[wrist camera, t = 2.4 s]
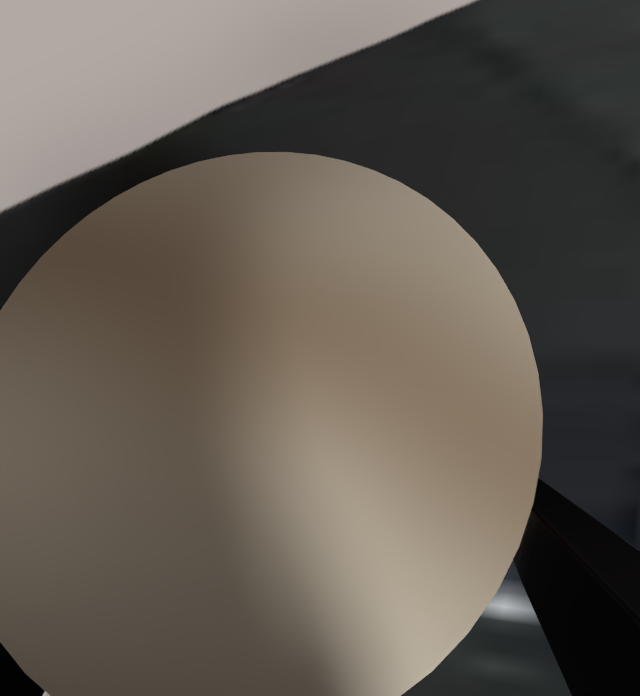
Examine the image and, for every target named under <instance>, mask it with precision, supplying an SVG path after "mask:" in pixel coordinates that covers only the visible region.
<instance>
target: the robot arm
mask: <svg viewBox="0 0 640 696" xmlns="http://www.w3.org/2000/svg"><path fill="white" fill-rule="evenodd" d="M513 560H514V563H515V566H516V569H517V572H518V574H519V576H520V579H521V581H522V584H523V586H524V588H525V590H526V593H527V595H528V597H529V599H530V602H531V604H532V606H533V609H534V611H535V613H536V615H537V618H538V620H539V622H540V624H541V627H542V629H543V631H544V633H545V636H546V638H547V640H548V642H549V645H550V647H551V649H552V651H553V654H554V656H555V658H556V661H557V663H558V665H559V667H560V670H561V672H562V674H563V676H564V679H565V681H566V683H567V685H568V688H569V690H570V692H571V694H572V696H640V551H639V550H637V549H636V548H635V547H633V546H632V545H631V544H629V543H628V542H626V541H625V540H624V539H622V538H621V537H619V536H618V535H617V534H615V533H614V532H613V531H611V530H610V529H608V528H607V527H606V526H604V525H603V524H601V523H600V522H599V521H597V520H596V519H594V518H593V517H592V516H590V515H589V514H588V513H586V512H585V511H583V510H582V509H581V508H579V507H578V506H576V505H575V504H574V503H572V502H571V501H569V500H568V499H567V498H565V497H564V496H563V495H561V494H560V493H558V492H557V491H556V490H554V489H553V488H551V487H550V486H549V485H547V484H546V483H544V482H543V481H542V480H540V479H539V478H538V480H537V486H536V492H535V498H534V503H533V506H532V509H531V512H530V515H529V518H528V521H527V524H526V527H525V530H524V533H523V536H522V540H521V543H520V546H519V548H518V550H517V552H516V554H515V556H514V558H513ZM44 692H45V691H44V690H43V689H42V688H41V687H40V686H39V685H38V684H37V683H35V682H34V681H33V680H32V679H31V678H30V677H29V676H28V675H26V674H25V672H24V671H23V670H22V669H21V667H20V666H19V665H18V664H17V662H16V661H15V660H14V659H13V657H12V656H11V655H10V654H9V652H8V651H7V650H6V649H5V647H4V646H3V645H2V644H1V642H0V696H43V694H44Z"/></svg>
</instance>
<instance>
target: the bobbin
mask: <svg viewBox="0 0 640 696" xmlns="http://www.w3.org/2000/svg"><path fill="white" fill-rule="evenodd" d="M542 423H543V411H542V402H541V393H540V384H539V375H538V370H537V366H536V362H535V358H534V354H533V350H532V346H531V342H530V338H529V335H528V332H527V330H526V327H525V325H524V322H523V320H522V317H521V315H520V312H519V310H518V308H517V305H516V303H515V300H514V298H513V297H512V295H511V293H510V291H509V290H508V288H507V286H506V284H505V283H504V281H503V279H502V277H501V276H500V274H499V272H498V270H497V269H496V268H495V266H494V265H493V264H492V262H491V261H490V260H489V258H488V257H487V256H486V254H485V253H484V252H483V250H482V249H481V248H480V247H479V245H478V244H477V243H476V241H475V240H474V239H473V238H472V237H471V236H470V235H469V234H468V233H467V232H466V231H465V230H464V229H463V228H462V227H461V226H460V225H459V224H458V223H457V222H456V221H455V220H454V219H453V218H451V217H450V216H449V215H448V214H446V213H445V212H444V211H443V210H441V209H440V208H439V207H437V206H436V205H435V204H434V203H432V202H431V201H430V200H429V199H427V198H425V197H424V196H422V195H421V194H419V193H417V192H416V191H414V190H412V189H411V188H409V187H407V186H406V185H404V184H402V183H401V182H398V181H396V180H394V179H392V178H390V177H387V176H385V175H383V174H381V173H379V172H376V171H374V170H371V169H368V168H365V167H362V166H359V165H356V164H353V163H350V162H347V161H343V160H338V159H333V158H328V157H323V156H319V155H311V154H301V153H291V152H256V153H247V154H237V155H228V156H223V157H218V158H214V159H209V160H204V161H199V162H196V163H193V164H190V165H186V166H183V167H180V168H177V169H174V170H170V171H168V172H166V173H163V174H161V175H159V176H156V177H154V178H151V179H149V180H147V181H144V182H142V183H140V184H138V185H136V186H135V187H133V188H131V189H129V190H127V191H125V192H123V193H121V194H120V195H118V196H116V197H114V198H113V199H111V200H110V201H108V202H107V203H105V204H104V205H102V206H101V207H99V208H98V209H96V210H95V211H93V212H92V213H90V214H89V215H88V216H86V217H85V218H84V219H83V220H81V221H80V222H79V223H78V224H76V225H75V226H74V227H73V228H71V229H70V230H69V231H68V232H66V233H65V234H64V235H63V236H62V237H61V238H60V239H59V240H58V241H57V242H56V243H55V244H54V245H53V246H52V247H51V248H50V249H49V250H48V251H47V252H46V253H45V254H44V255H43V256H42V257H41V258H40V259H39V260H38V261H37V263H36V264H35V265H34V266H33V267H32V268H31V270H30V271H29V272H28V273H27V274H26V276H25V277H24V278H23V279H22V280H21V281H20V283H19V284H18V286H17V287H16V289H15V290H14V292H13V293H12V294H11V296H10V297H9V299H8V300H7V302H6V303H5V305H4V306H3V308H2V309H1V311H0V642H1V644H2V645H3V646H4V647H5V649H6V650H7V651H8V652H9V654H10V655H11V656H12V657H13V659H14V660H15V661H16V662H17V664H18V665H19V666H20V667H21V669H22V670H23V671H24V672H25V674H26V675H28V676H29V677H30V678H31V679H32V680H33V681H34V682H35V683H37V684H38V685H39V686H40V687H41V688H42V689H43V690H44V691H46V692H47V693H48V694H49V695H50V696H401V695H402V694H403V693H405V692H406V691H407V690H409V689H410V688H411V687H412V686H414V685H415V684H416V683H418V682H419V681H420V680H422V679H423V678H424V677H425V676H427V675H428V674H429V673H431V672H432V671H433V670H434V669H435V668H436V667H437V666H438V665H439V664H440V662H441V661H442V660H443V659H444V658H445V657H446V656H447V655H448V654H449V653H450V652H451V651H452V650H453V649H454V648H455V647H456V646H457V644H458V643H459V642H460V641H461V640H462V639H463V638H464V637H465V636H466V635H467V634H468V633H469V631H470V630H471V628H472V627H473V625H474V624H475V623H476V621H477V620H478V618H479V617H480V615H481V614H482V613H483V611H484V610H485V608H486V607H487V605H488V604H489V602H490V601H491V600H492V598H493V597H494V595H495V594H496V592H497V591H498V589H499V587H500V585H501V583H502V581H503V579H504V577H505V575H506V572H507V570H508V568H509V566H510V564H511V562H512V560H513V558H514V556H515V554H516V552H517V550H518V548H519V546H520V543H521V540H522V536H523V533H524V530H525V527H526V524H527V521H528V518H529V515H530V512H531V509H532V506H533V503H534V498H535V492H536V486H537V480H538V474H539V469H540V463H541V456H542Z"/></svg>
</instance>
